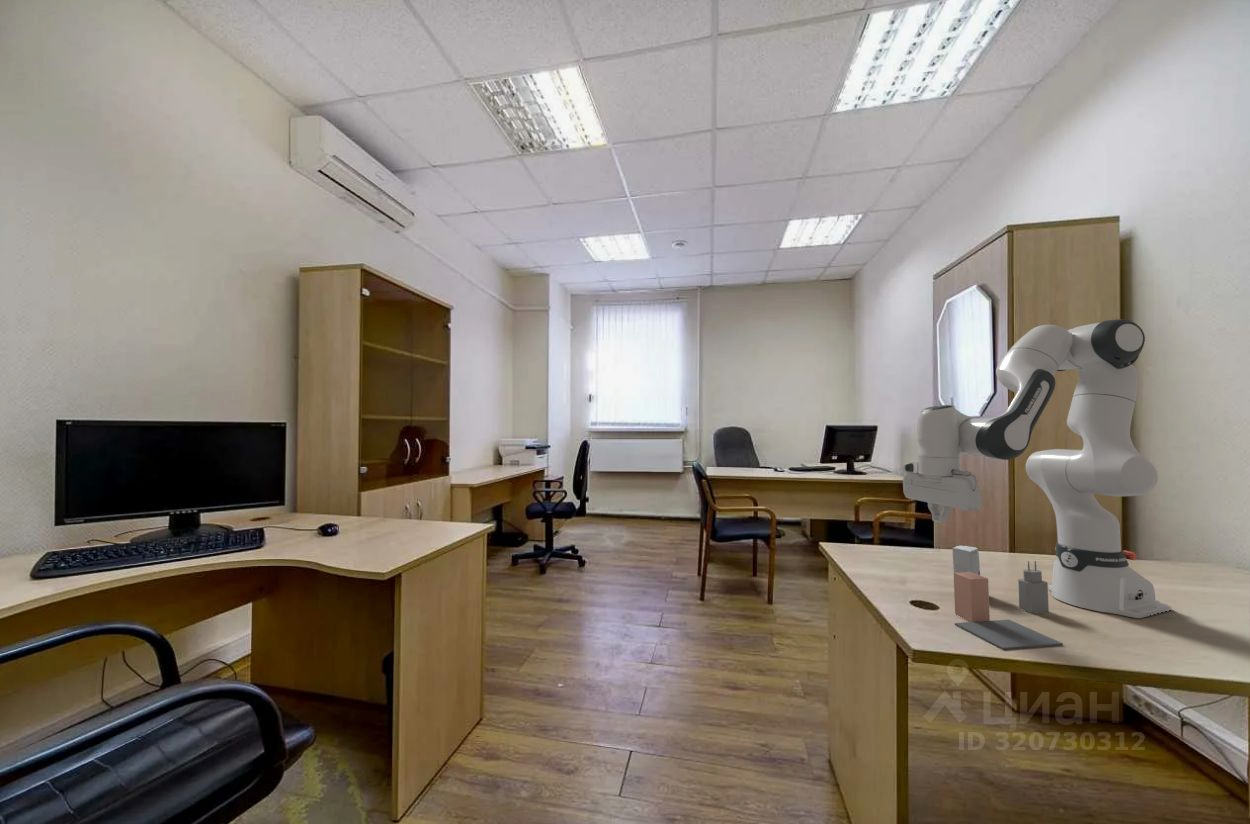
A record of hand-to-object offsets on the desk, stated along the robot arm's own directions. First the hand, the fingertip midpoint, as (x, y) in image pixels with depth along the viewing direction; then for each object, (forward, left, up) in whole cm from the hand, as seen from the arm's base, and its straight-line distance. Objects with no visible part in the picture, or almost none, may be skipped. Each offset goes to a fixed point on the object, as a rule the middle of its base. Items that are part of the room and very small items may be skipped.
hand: (939, 521), depth 109 cm
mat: (0, +16, -21) cm, 26 cm away
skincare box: (-13, -6, -21) cm, 26 cm away
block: (0, +8, -21) cm, 22 cm away
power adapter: (-19, +6, -21) cm, 29 cm away
